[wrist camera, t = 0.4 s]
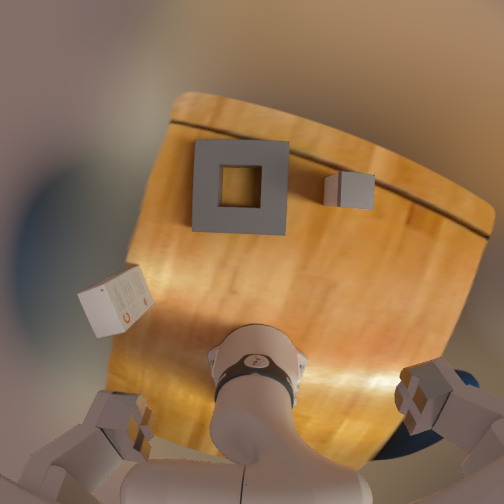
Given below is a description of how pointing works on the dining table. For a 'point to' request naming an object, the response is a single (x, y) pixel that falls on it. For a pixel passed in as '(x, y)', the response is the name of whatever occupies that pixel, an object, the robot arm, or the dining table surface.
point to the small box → (116, 302)
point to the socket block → (210, 186)
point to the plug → (349, 190)
